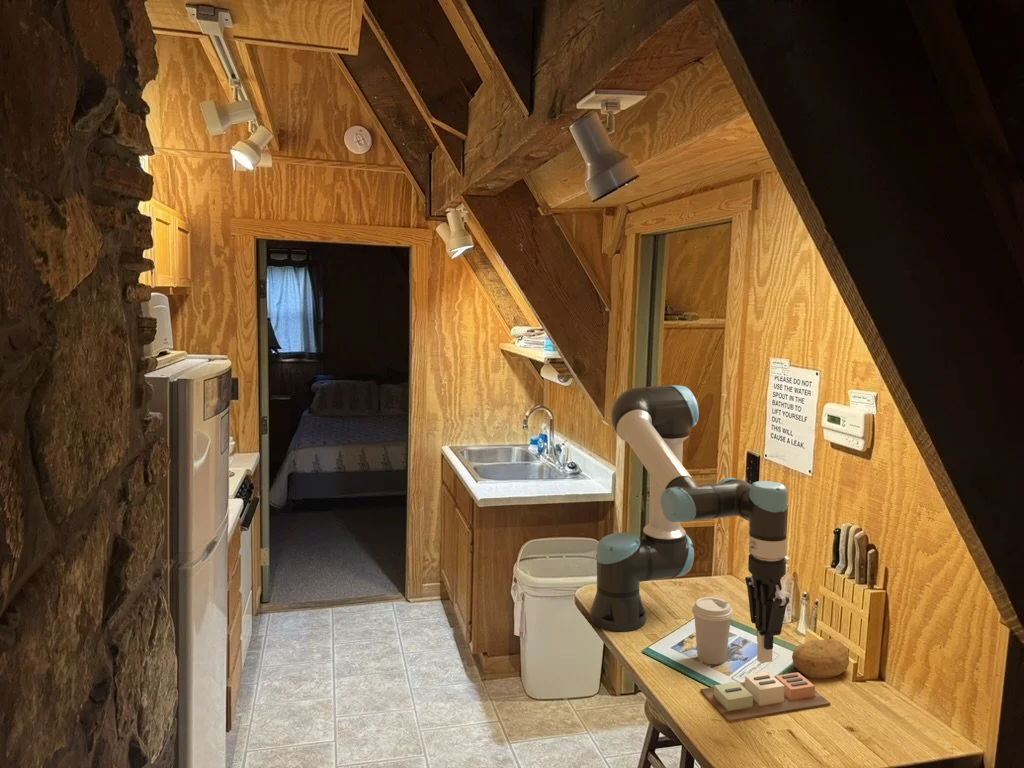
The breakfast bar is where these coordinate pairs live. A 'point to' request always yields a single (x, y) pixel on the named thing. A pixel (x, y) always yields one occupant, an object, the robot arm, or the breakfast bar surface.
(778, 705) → the board
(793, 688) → the tile
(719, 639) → the coffee cup
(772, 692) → the tile
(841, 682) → the breakfast bar surface
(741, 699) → the slotted block
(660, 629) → the breakfast bar surface
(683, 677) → the breakfast bar surface
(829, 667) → the potato
